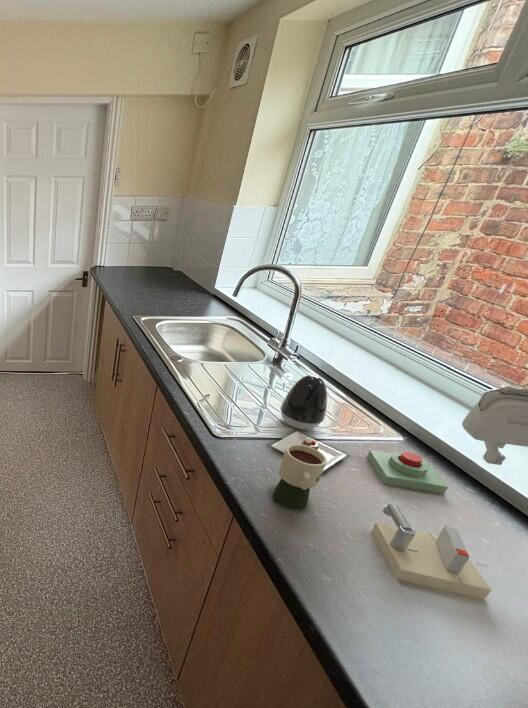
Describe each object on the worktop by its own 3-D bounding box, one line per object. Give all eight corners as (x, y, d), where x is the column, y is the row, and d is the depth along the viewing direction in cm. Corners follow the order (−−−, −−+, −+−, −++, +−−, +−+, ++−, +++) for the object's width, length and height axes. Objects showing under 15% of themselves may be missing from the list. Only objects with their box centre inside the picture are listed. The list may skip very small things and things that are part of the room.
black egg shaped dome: (272, 425, 116) (287, 377, 109) (282, 410, 122) (297, 364, 116) (315, 439, 109) (334, 390, 103) (323, 423, 116) (341, 375, 109)
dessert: (345, 458, 102) (352, 442, 100) (319, 476, 97) (326, 459, 95) (295, 434, 112) (300, 419, 110) (269, 449, 106) (274, 433, 104)
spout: (389, 520, 81) (398, 502, 78) (408, 553, 74) (419, 533, 72) (375, 517, 81) (384, 499, 79) (393, 549, 75) (403, 530, 72)
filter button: (414, 459, 96) (418, 453, 96) (422, 469, 93) (425, 463, 92) (396, 456, 97) (399, 450, 97) (403, 465, 94) (406, 459, 94)
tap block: (459, 553, 78) (468, 539, 76) (498, 608, 68) (509, 594, 67) (369, 534, 82) (375, 521, 80) (393, 583, 73) (402, 569, 71)
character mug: (312, 525, 84) (333, 475, 78) (272, 515, 87) (290, 466, 81) (303, 489, 93) (321, 443, 87) (267, 481, 96) (282, 435, 90)
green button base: (421, 466, 99) (428, 452, 98) (443, 494, 91) (452, 480, 89) (366, 457, 103) (372, 444, 101) (383, 483, 94) (390, 470, 93)
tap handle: (435, 540, 76) (445, 524, 74) (446, 544, 75) (457, 527, 73) (446, 570, 71) (457, 552, 69) (458, 574, 70) (470, 556, 68)
